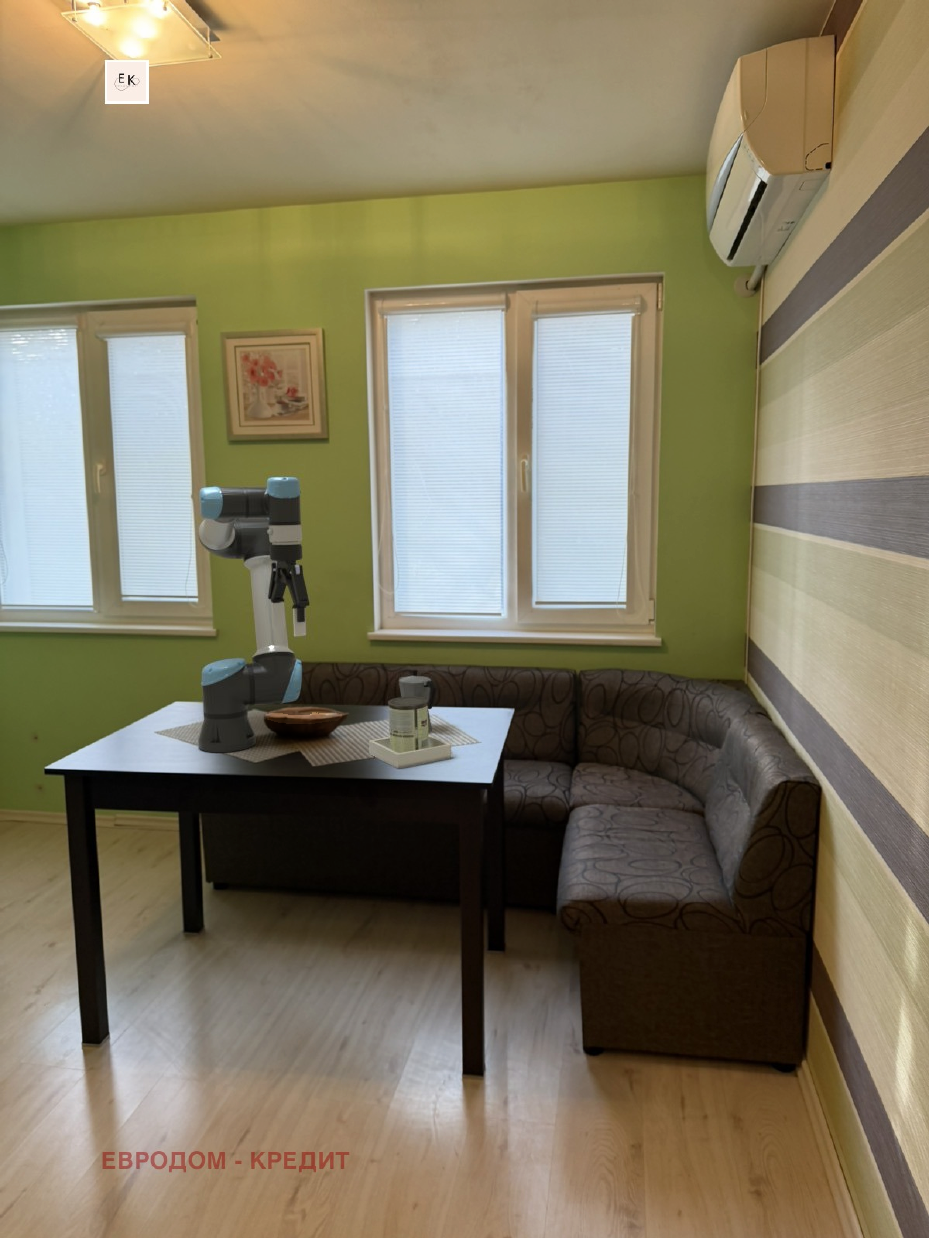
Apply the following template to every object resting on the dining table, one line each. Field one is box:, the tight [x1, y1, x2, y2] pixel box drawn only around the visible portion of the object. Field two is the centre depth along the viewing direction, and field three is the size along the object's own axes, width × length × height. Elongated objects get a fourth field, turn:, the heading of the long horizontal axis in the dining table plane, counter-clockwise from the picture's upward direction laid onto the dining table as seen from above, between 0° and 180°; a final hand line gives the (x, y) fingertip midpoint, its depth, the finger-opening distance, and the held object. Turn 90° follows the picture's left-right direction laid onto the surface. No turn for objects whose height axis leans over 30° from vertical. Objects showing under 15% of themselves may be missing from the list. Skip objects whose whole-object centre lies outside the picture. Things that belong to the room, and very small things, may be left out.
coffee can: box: [387, 696, 429, 753], centre depth 219 cm, size 10×10×14 cm
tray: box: [368, 734, 452, 770], centre depth 220 cm, size 16×16×4 cm
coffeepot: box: [398, 668, 437, 733], centre depth 244 cm, size 15×9×18 cm, turn 43°
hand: (289, 632), depth 203 cm, fingers open, 13 cm apart
